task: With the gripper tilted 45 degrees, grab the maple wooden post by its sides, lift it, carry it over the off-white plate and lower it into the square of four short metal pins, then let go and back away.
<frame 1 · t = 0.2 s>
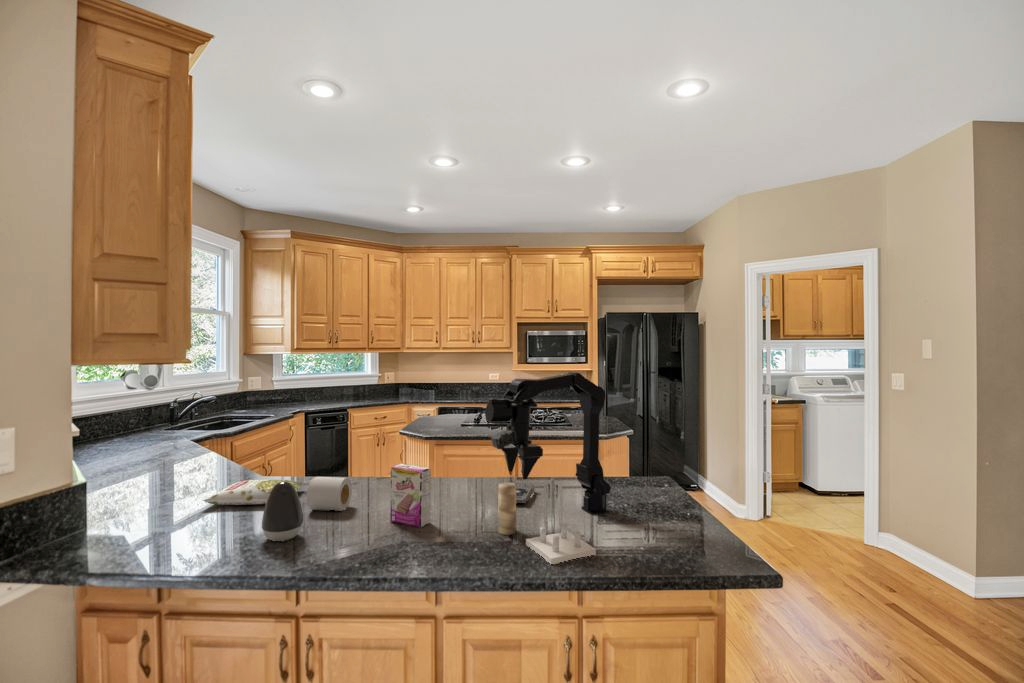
hand: (517, 475, 146), 14 cm above the countertop, tool pointing down, fingers open, 9 cm apart
maple post: (507, 531, 141), on the countertop
pin plate: (560, 549, 129), on the countertop
toilet paper: (329, 510, 158), on the countertop
frozen beans: (256, 501, 167), on the countertop
graphics card: (514, 500, 171), on the countertop
candy bar box: (410, 523, 147), on the countertop
aroma diffuser: (282, 538, 135), on the countertop
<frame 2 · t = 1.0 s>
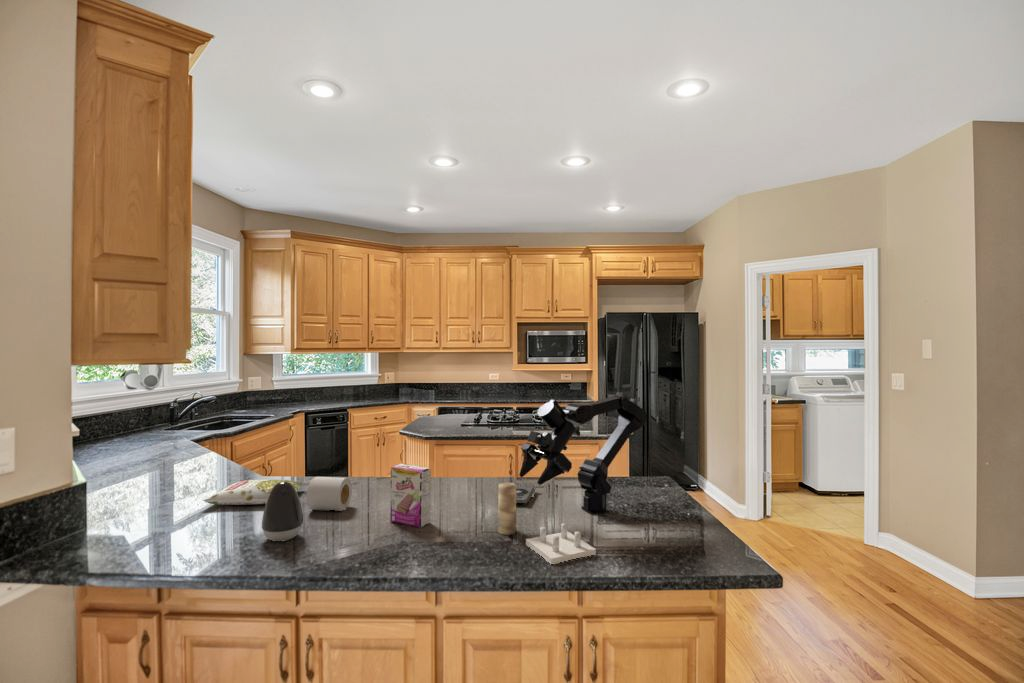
hand: (529, 480, 145), 13 cm above the countertop, tool tilted 45°, fingers open, 9 cm apart
nothing on the countertop moved.
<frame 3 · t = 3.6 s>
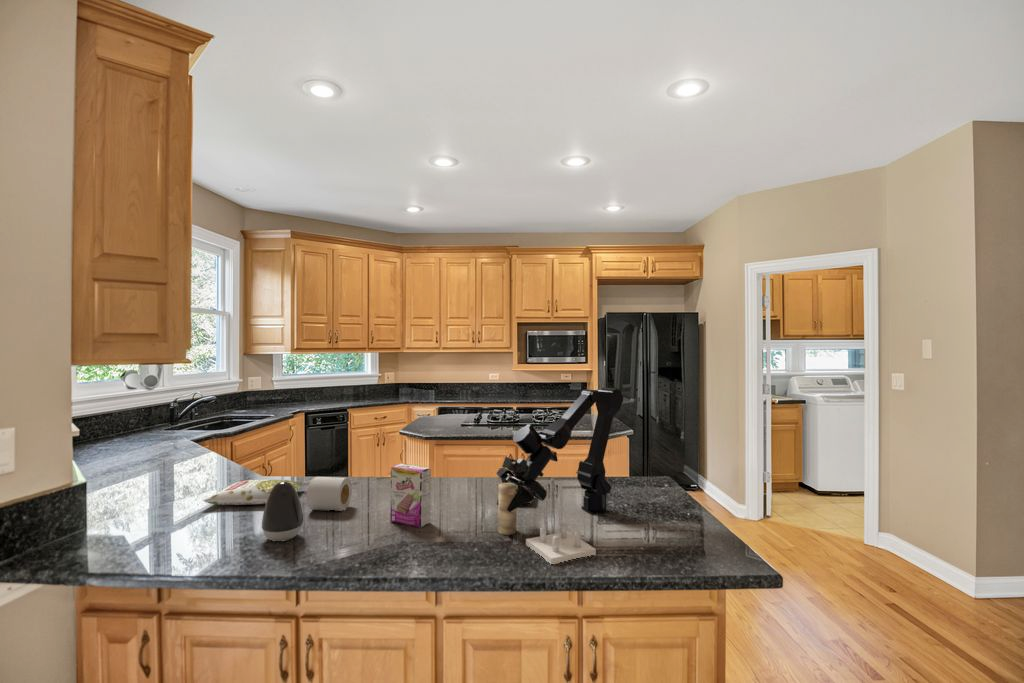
hand: (503, 508, 140), 7 cm above the countertop, tool tilted 45°, fingers closed on maple post, 5 cm apart
maple post: (507, 531, 141), on the countertop, touching gripper
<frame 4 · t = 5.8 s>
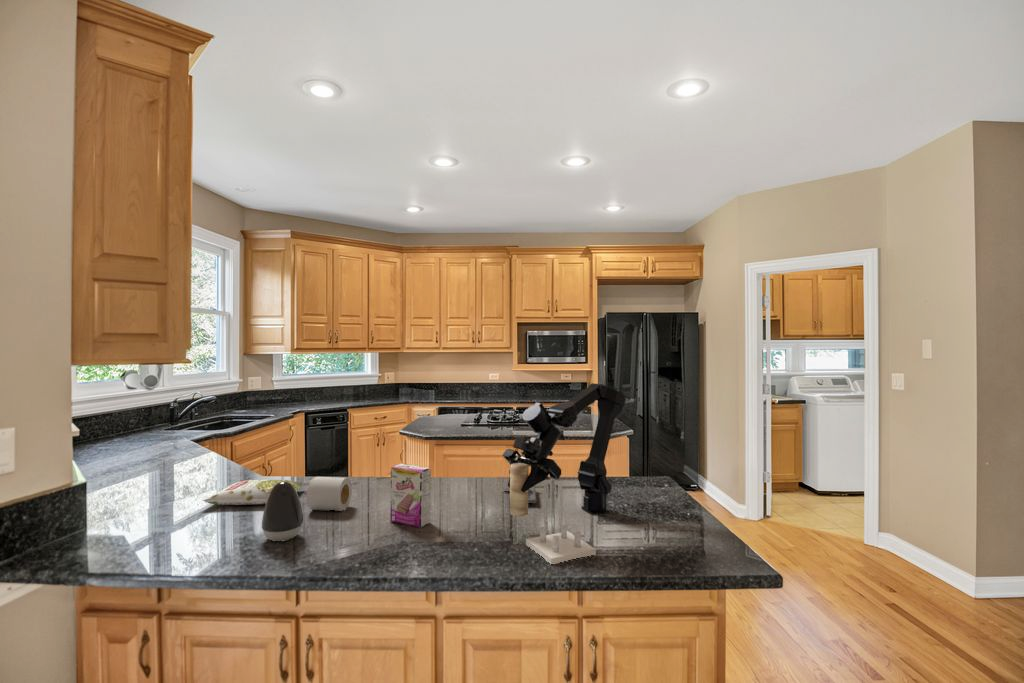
hand: (515, 489, 136), 13 cm above the countertop, tool tilted 45°, fingers closed on maple post, 5 cm apart
maple post: (518, 512, 137), point 7 cm above the countertop, touching gripper
when the fingers open (10 cm above the countertop, at t = 8.2 s): maple post drops 1 cm, resting on pin plate.
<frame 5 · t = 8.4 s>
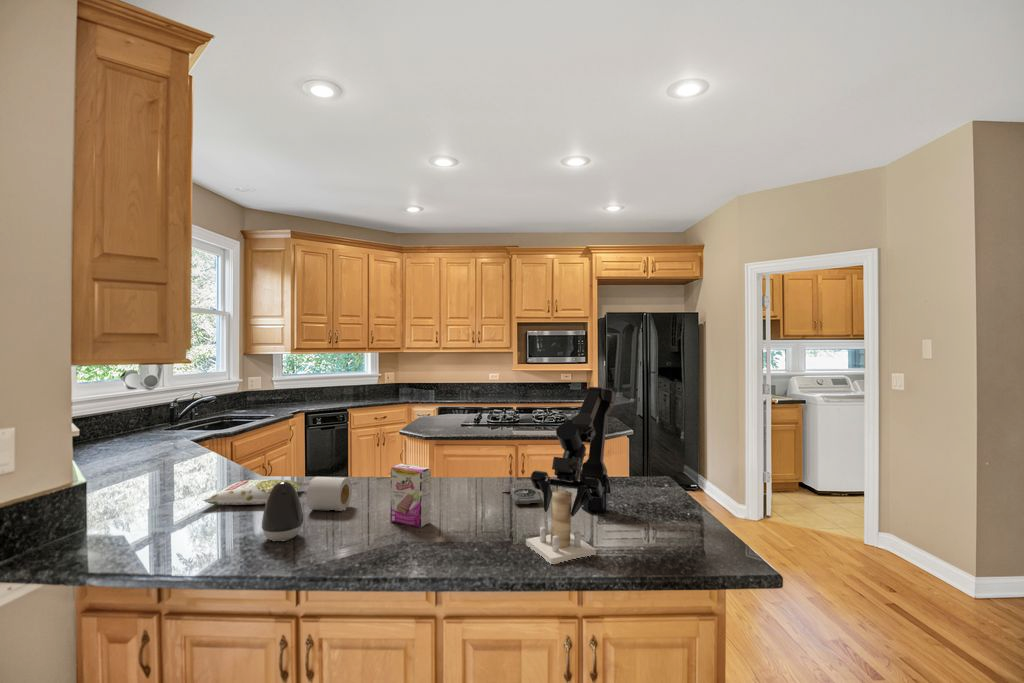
hand: (558, 513, 127), 10 cm above the countertop, tool tilted 45°, fingers open, 7 cm apart
maple post: (560, 543, 129), point 2 cm above the countertop, touching pin plate
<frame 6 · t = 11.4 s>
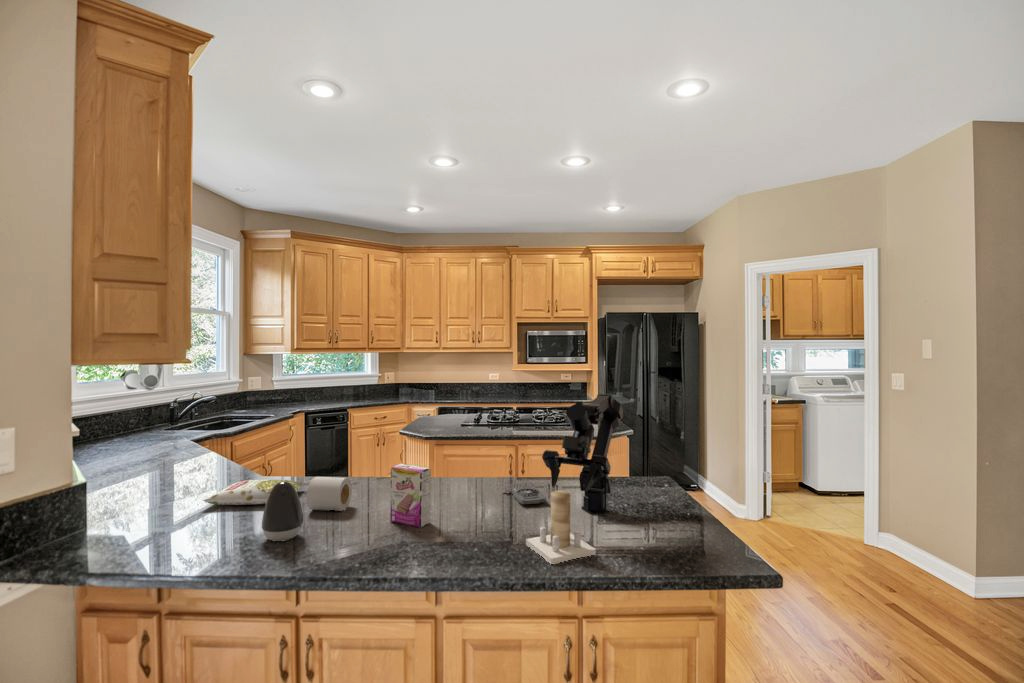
hand: (568, 489, 136), 14 cm above the countertop, tool tilted 45°, fingers open, 9 cm apart
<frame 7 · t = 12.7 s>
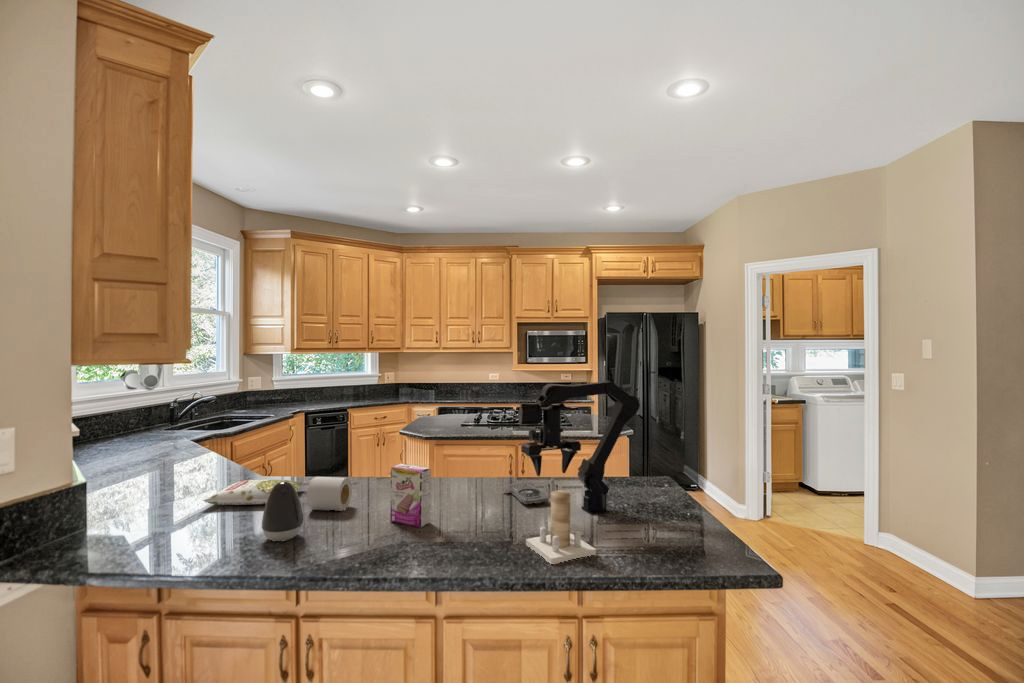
hand: (551, 474, 156), 12 cm above the countertop, tool pointing down, fingers open, 9 cm apart
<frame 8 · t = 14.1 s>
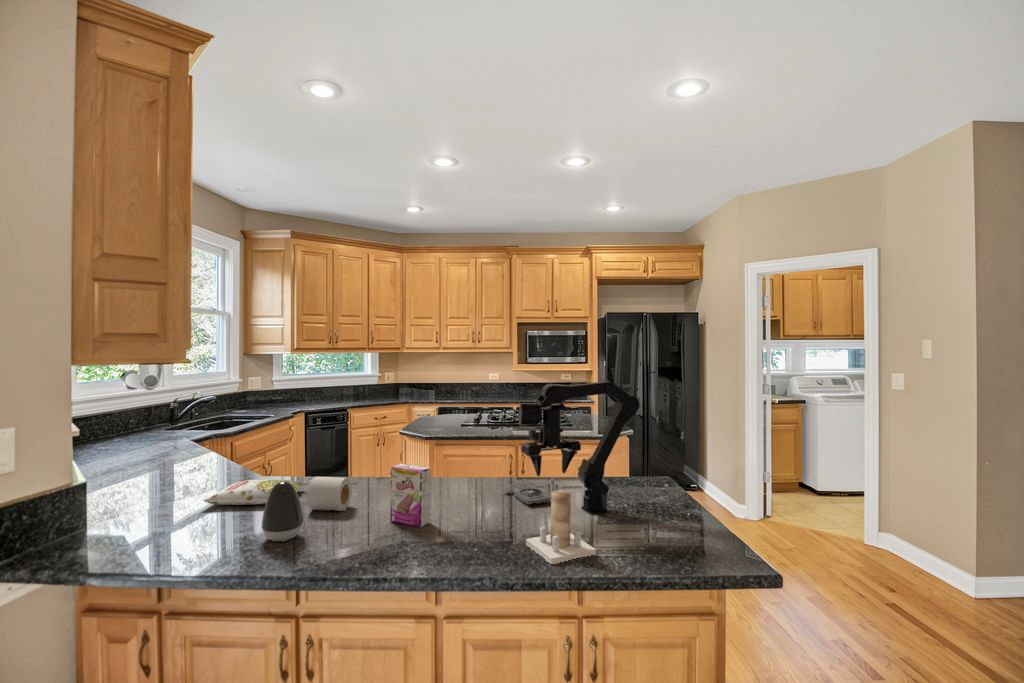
hand: (551, 474, 156), 12 cm above the countertop, tool pointing down, fingers open, 9 cm apart
at the end: maple post 0.1 cm off-centre on the pin plate, point 1.5 cm above the pin plate's base; maple post tilted 1°; the gripper is holding nothing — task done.
